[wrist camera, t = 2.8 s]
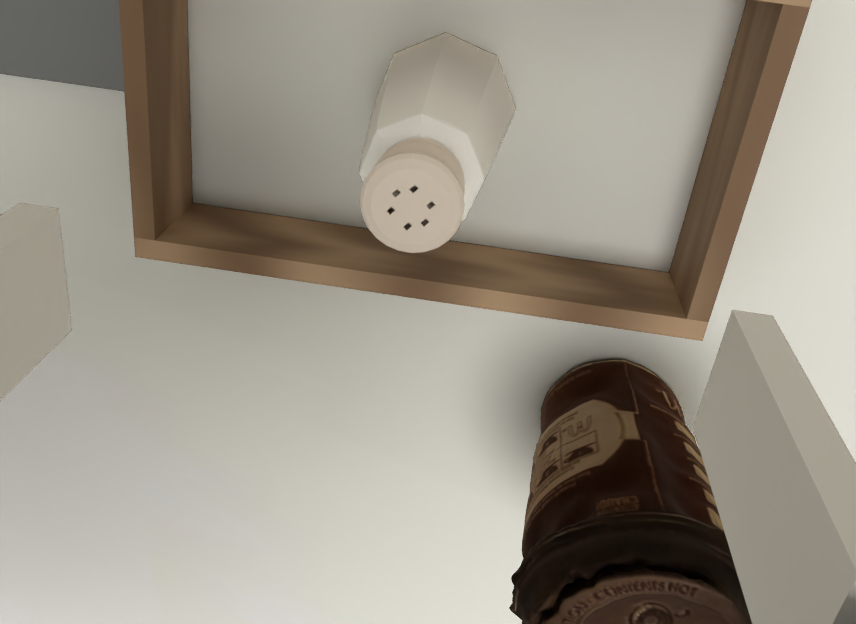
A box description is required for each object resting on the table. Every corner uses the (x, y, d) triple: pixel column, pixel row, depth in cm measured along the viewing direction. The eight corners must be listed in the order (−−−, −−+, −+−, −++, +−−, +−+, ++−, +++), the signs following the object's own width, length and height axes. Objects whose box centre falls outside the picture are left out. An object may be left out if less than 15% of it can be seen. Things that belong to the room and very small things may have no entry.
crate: (174, 218, 34) (135, 256, 31) (161, -116, 28) (111, -115, 25) (683, 292, 34) (702, 341, 30) (780, -34, 28) (818, -21, 24)
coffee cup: (484, 455, 39) (469, 696, 27) (549, 311, 35) (563, 522, 23) (654, 510, 39) (709, 769, 28) (737, 373, 35) (841, 610, 24)
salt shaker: (545, 109, 31) (557, 214, 21) (443, 200, 33) (410, 334, 23) (446, -1, 29) (410, 58, 20) (346, 102, 31) (268, 201, 22)
